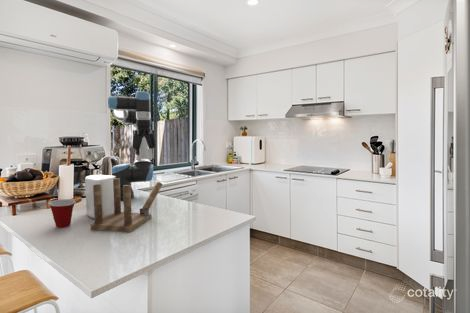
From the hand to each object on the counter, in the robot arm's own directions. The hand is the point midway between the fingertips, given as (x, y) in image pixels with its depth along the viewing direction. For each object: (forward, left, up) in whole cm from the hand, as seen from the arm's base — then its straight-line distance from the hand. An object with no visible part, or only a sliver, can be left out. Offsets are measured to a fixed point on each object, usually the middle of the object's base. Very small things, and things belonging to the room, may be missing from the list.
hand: (144, 160), depth 152 cm
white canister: (+19, -16, -29) cm, 38 cm away
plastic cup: (+38, -14, -29) cm, 50 cm away
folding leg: (+12, +13, -25) cm, 30 cm away
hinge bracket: (+12, +12, -27) cm, 32 cm away
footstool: (+22, +8, -29) cm, 37 cm away
